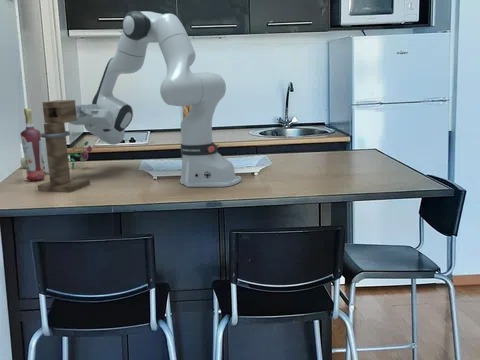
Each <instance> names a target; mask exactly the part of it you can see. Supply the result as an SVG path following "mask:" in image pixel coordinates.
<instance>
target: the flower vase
mask: <svg viewBox="0 0 480 360" xmlns="http://www.w3.org/2000/svg"><path fill="white" fill-rule="evenodd" d="M88 144H89V140H88V141H87V140H86V141H85V142H84V144H81V146H80V147H79V148H78V150H79V151H78V150H76V149H77V144H76V143H74V145H75V148H73V149H72V153H71V152H70V153H67V154H68V162H70V163H71V168H72V170H74V169H75V163H76V160H75V159H74V158H73V157H72V158H69V156H70V157H71V156H73V155H74V157H77V158H78V157H79V160H80V162H82V163H84V162H86V161H87V160H88V158H89V153H91V152H92V151H93V147H92V145H88ZM86 146H87V147H86ZM84 147H86V149H83V148H84ZM80 148H81V149H80ZM88 152H89V153H88ZM78 153H79V154H78ZM42 163H44V160H43V155H42ZM20 165H21V167H22V168H23V169H26V163H25V157H21V158H20Z"/></svg>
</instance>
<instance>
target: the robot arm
mask: <svg viewBox="0 0 480 360" xmlns="http://www.w3.org/2000/svg"><path fill="white" fill-rule="evenodd" d="M121 27H122V32H121V34H120V37H119V39H118V40H119V41H118V43H117V49H116V52H115V55H114V56H113V57H111V58H110V59H109V60H108V62H107V64H106V66H105V67H104V68H105V69H104V71H103V74H102V76H101V80H100V83H99V86H98V89H97V92H96V93H95V95H94V97H93V99H92V102H91V104H97V107H98V110H90V109H87V108H85V107H80V109H79V111H80V112H81V113H82V114H76V116H77V121H72V122H68V123H69V124H70V125H74V126H84V128H85V130H86V131H87V132H89V133H90V134H92V135H93V136H95V137H97V139H99V140H101V141H102V142H104V143H106V144H108V145H117V144H120V143H121V142H123V140H124V138H125V131H126V128H127V127H129V126H130V124H131V122H132V120H133V117H134V110H133V108H132V106H131V105H130V104H128V103H126V102H124V101H123V100H121V99H119V98H117V97H115V96H114V94H113V91H114V88H115V85H116V83H117V80H118V77H119V76H120V75H121V74H122V75H123V74H126V75H127V74H128V75H129V74H135V73H137V72H138V71H140V70H141V69H142V67H143V66H144V63H145V60H146V59H145V58H146V54H147V48H148V44H149V43H153V44H154V43H158V46H159V49H160V52H161V53H162V57H163V59H164V61H165V65H166V76H165V78H164V79H163V80H162V82H161V84H160V87H159V88H160V89H159V92H160V93H159V94H160V96H161V99H162V100H163V102H164V103H165V104H166V105H168V106H176V107H186V106H187V107H188V106H190V110H189V113H187V115H186V116H185V117H184V118H183V119H182V120H181V122H180V136H181V144H180V154H181V159H182V160H181V163H182V164H181V172H180V173H181V174H180V180H179V183H180V184H181V185H185V187H188V188H190V187H193V188H194V187H195V188H199V187H200V188H202V187H203V188H206V187H209V188H210V187H211V188H212V187H214V188H215V187H216V188H217V187H222V188H225V187H231V186H234V185H237V184H238V183H240V182H241V181H242V176H240V175H236V172H235V168H234V165H233V163H232V162H231V161H230V160H228V159H227V158H225V157H224V156H222V155H221V154H220V153H219V152H218V148H219V147H220V146H219V145H220V144H219V143H218V144H215V142H213V127H212V126H213V117H214V113H215V111H216V107H217V106H218V104H219V103H220V101H222V99H223V98H224V97H225V95H226V91H227V87H226V86H227V85H226V82H225V80H224V78H223V76H222V75H220V74H218V73H214V72H213V73H212V72H198V73H197V72H196V73H193V72H192V71H191V68H190V67H191V66H192V65H193V64H194V62H195V61H196V51H195V49H194V47H193V45H192V42H191V39H190V38H189V37H190V36H189V35H188V33H187V31H186V28H185V27H184V25H183V23H182V22H181V20H180V19H179V17H177V16H176V15H175V14H173V13H163V14H162V13H158V12H154V11H147V10H146V11H139V10H132V11H129V12H127V13H126V14H125V15H124V17H123V20H122V25H121Z"/></svg>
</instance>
